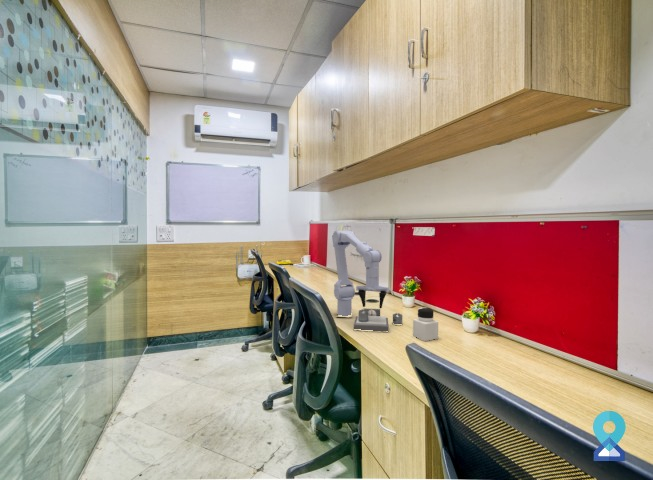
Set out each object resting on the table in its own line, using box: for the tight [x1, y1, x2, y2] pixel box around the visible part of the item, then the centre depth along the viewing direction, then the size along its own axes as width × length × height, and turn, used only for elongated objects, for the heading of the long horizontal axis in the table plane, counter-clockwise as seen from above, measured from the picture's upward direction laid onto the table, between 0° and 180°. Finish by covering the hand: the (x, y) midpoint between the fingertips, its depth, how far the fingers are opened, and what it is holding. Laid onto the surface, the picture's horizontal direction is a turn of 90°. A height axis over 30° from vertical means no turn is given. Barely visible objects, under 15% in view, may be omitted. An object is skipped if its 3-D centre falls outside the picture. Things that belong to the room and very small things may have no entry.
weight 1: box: [358, 308, 368, 322], centre depth 141 cm, size 4×4×5 cm
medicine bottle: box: [412, 307, 439, 342], centre depth 128 cm, size 7×7×12 cm
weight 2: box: [392, 312, 403, 325], centre depth 147 cm, size 4×4×5 cm
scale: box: [353, 307, 390, 333], centre depth 144 cm, size 17×15×6 cm
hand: (372, 307), depth 142 cm, fingers open, 7 cm apart
